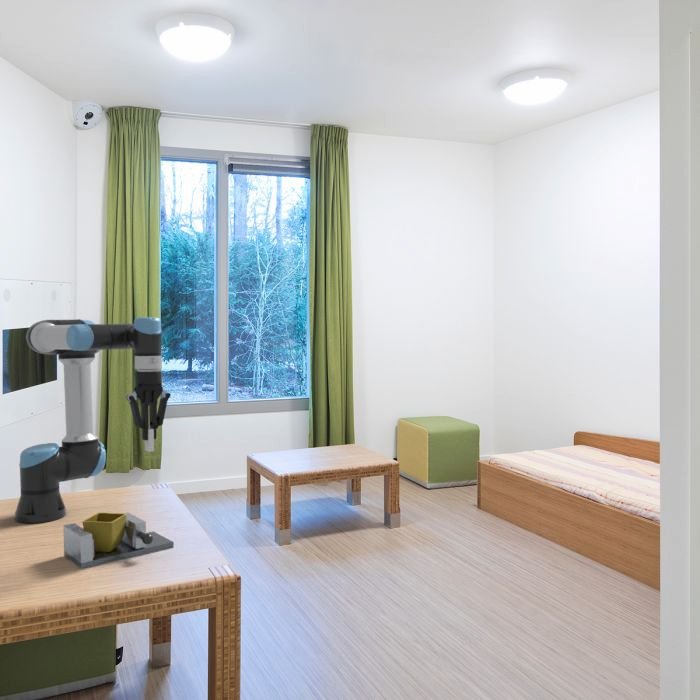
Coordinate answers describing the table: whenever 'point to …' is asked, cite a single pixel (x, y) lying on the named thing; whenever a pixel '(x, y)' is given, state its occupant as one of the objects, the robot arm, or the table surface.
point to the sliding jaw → (136, 532)
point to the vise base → (84, 556)
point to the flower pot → (106, 530)
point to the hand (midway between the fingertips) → (149, 450)
